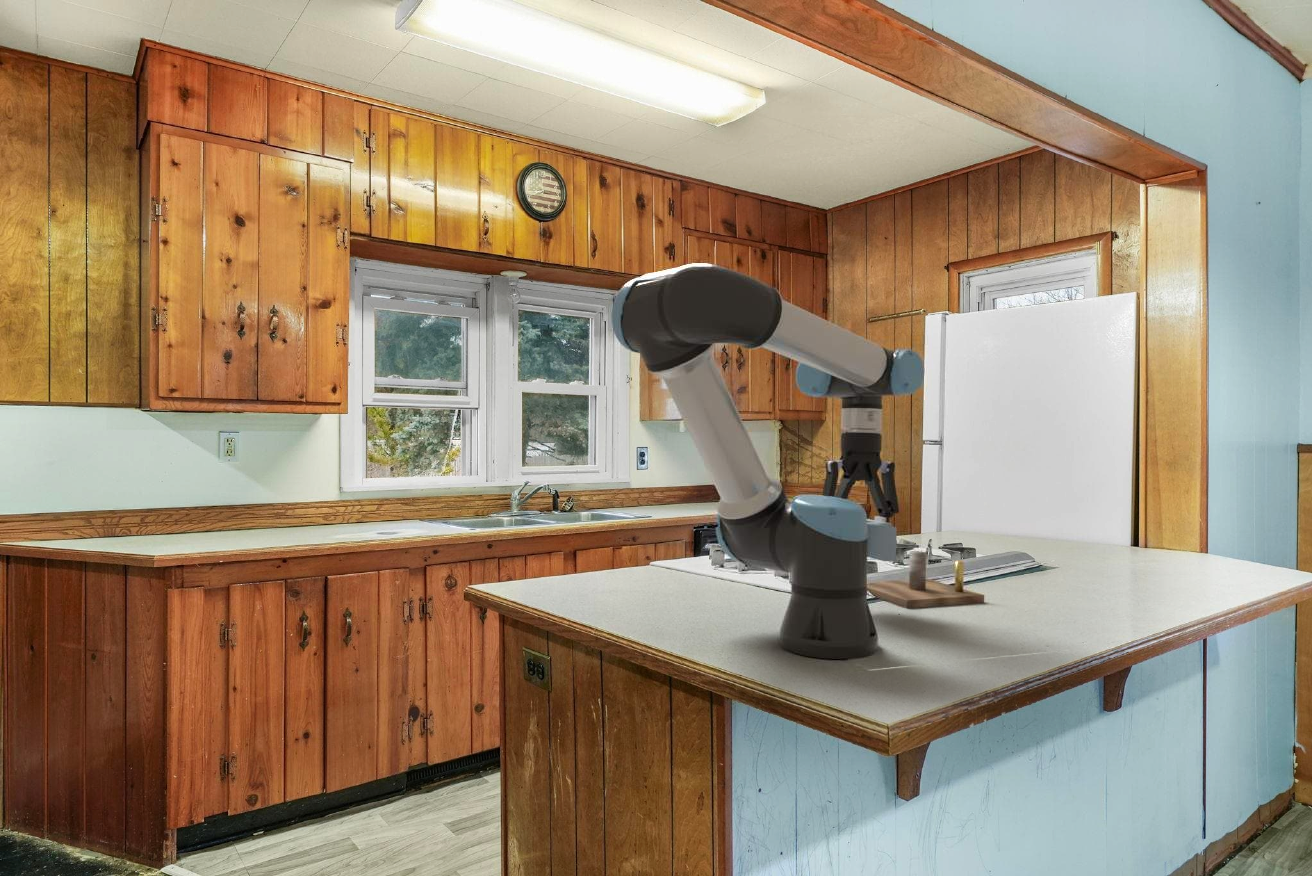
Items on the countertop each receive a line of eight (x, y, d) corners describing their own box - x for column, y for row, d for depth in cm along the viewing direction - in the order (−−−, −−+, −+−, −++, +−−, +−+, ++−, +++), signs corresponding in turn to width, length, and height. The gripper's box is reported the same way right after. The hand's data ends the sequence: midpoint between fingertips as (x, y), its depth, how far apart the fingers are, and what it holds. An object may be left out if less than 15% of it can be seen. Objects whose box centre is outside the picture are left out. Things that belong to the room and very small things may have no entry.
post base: (906, 608, 154) (907, 561, 154) (855, 590, 171) (855, 547, 171) (984, 602, 159) (984, 556, 159) (926, 585, 176) (927, 544, 176)
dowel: (958, 592, 162) (958, 562, 162) (953, 590, 163) (953, 561, 163) (965, 591, 162) (965, 562, 162) (959, 590, 164) (960, 560, 164)
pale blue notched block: (827, 550, 155) (827, 519, 155) (865, 549, 158) (866, 518, 158) (869, 561, 141) (870, 527, 141) (910, 560, 144) (911, 526, 144)
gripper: (821, 430, 146) (818, 555, 146) (921, 433, 152) (918, 553, 152) (801, 430, 153) (798, 549, 153) (897, 433, 159) (894, 547, 159)
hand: (858, 551), depth 152 cm, fingers closed on pale blue notched block, 8 cm apart
